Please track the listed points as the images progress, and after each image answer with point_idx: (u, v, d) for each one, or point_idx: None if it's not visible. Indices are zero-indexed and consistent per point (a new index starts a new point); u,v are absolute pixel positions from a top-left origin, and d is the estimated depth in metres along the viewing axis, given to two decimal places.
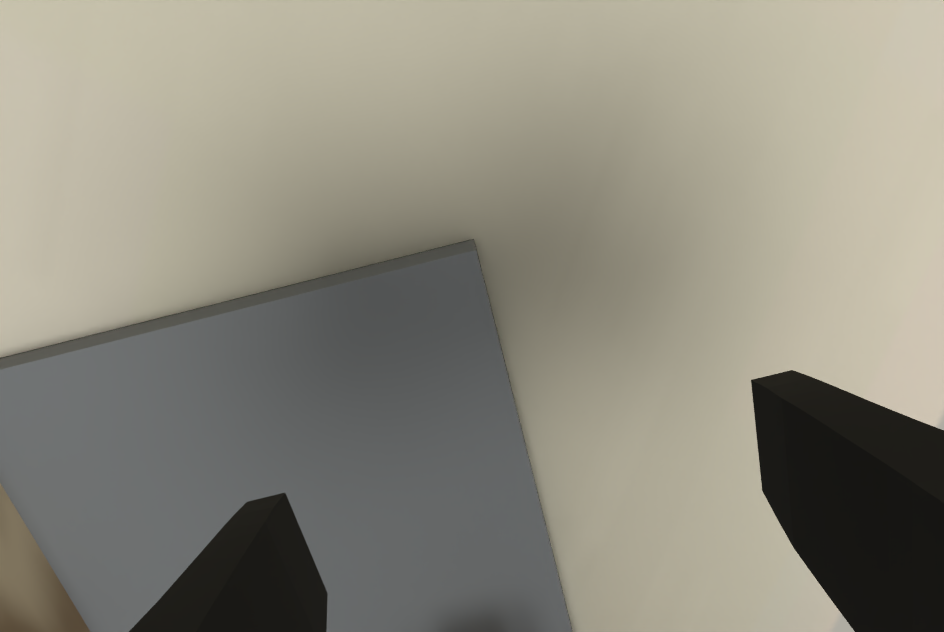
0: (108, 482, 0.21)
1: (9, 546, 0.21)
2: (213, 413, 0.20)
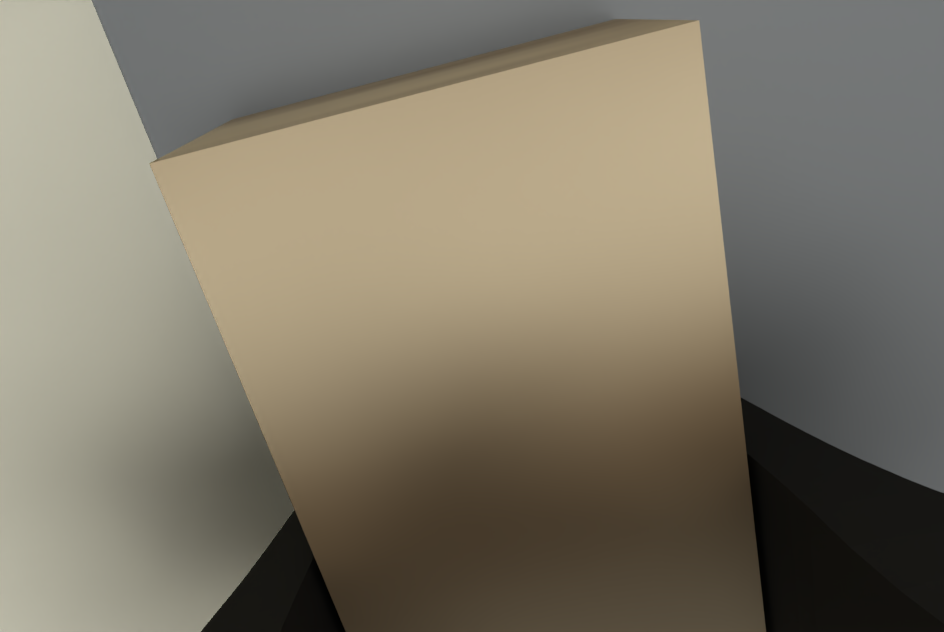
0: (849, 93, 0.10)
1: None
2: None
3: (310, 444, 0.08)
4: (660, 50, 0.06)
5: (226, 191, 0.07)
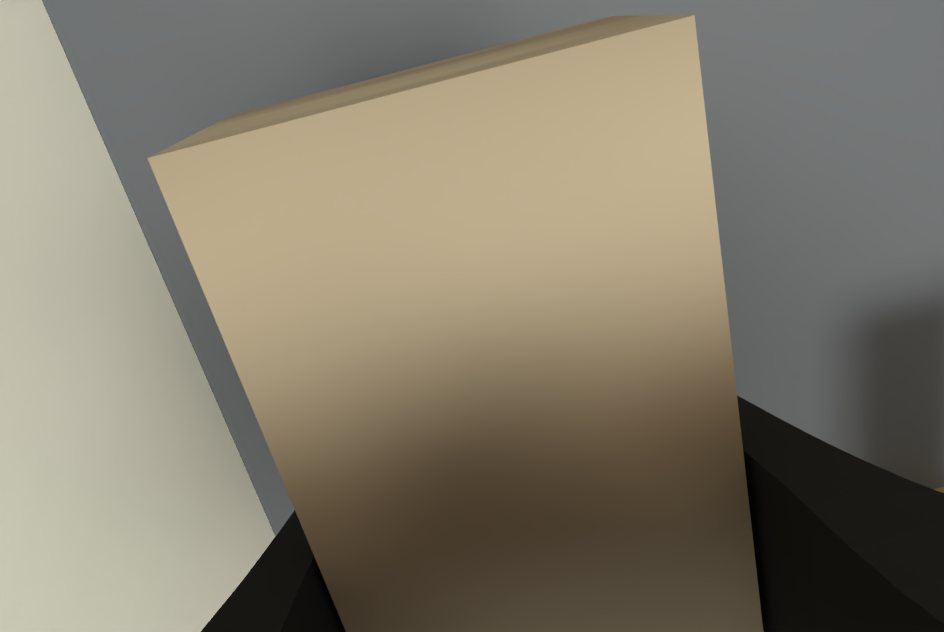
0: None
1: None
2: None
3: (308, 438, 0.08)
4: (656, 45, 0.06)
5: (224, 185, 0.07)
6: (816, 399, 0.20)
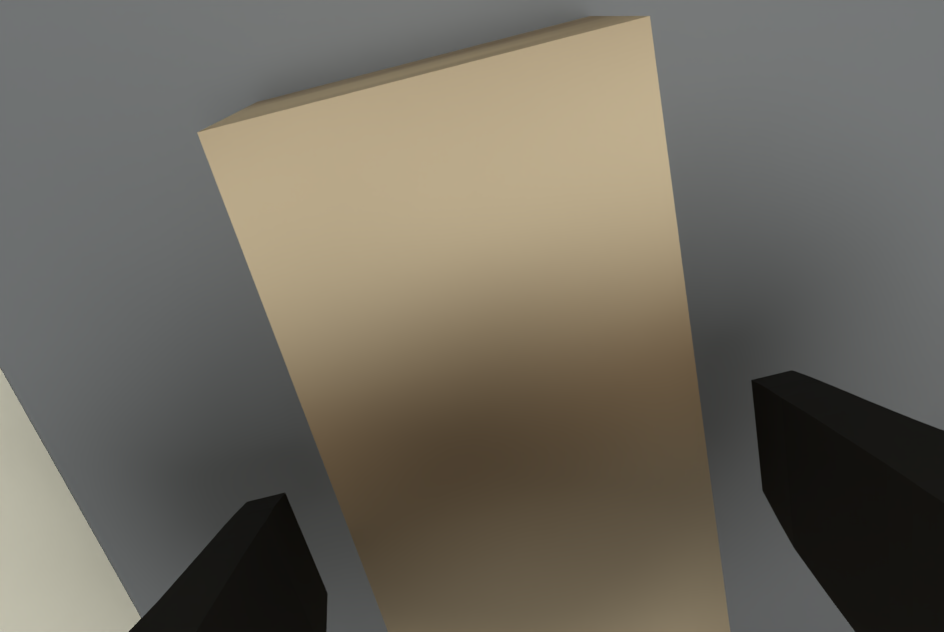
0: None
1: None
2: None
3: (326, 375, 0.09)
4: (618, 40, 0.08)
5: (260, 156, 0.08)
6: None
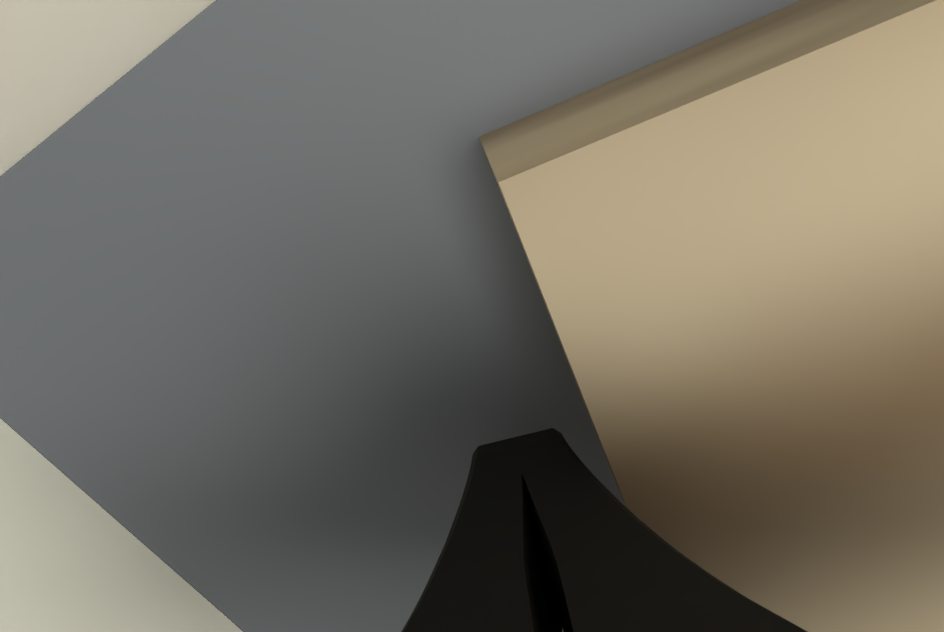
0: None
1: None
2: None
3: (629, 413, 0.09)
4: None
5: (563, 197, 0.07)
6: None
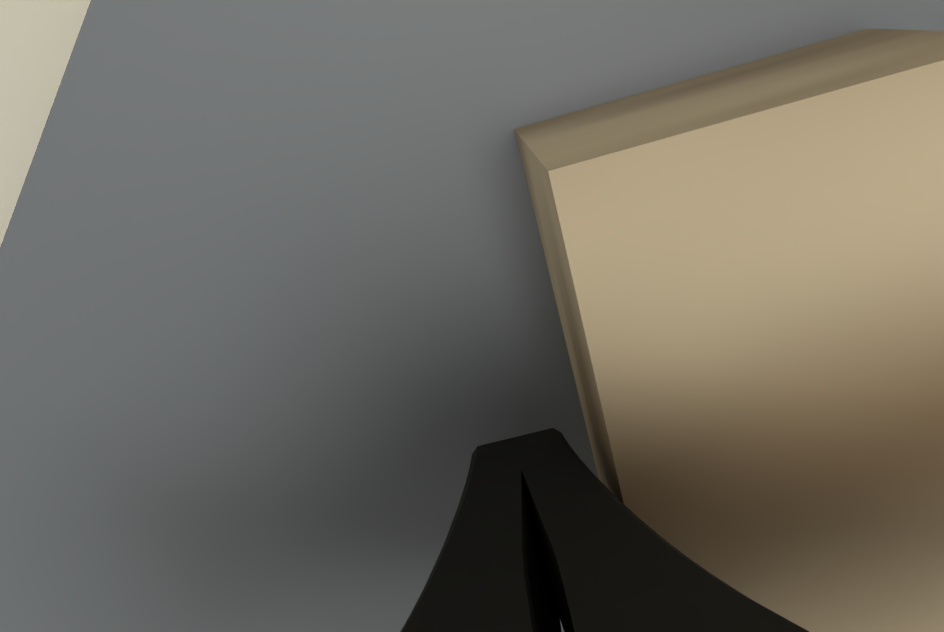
0: (254, 397, 0.12)
1: None
2: (274, 150, 0.10)
3: (642, 418, 0.09)
4: None
5: (609, 193, 0.07)
6: None
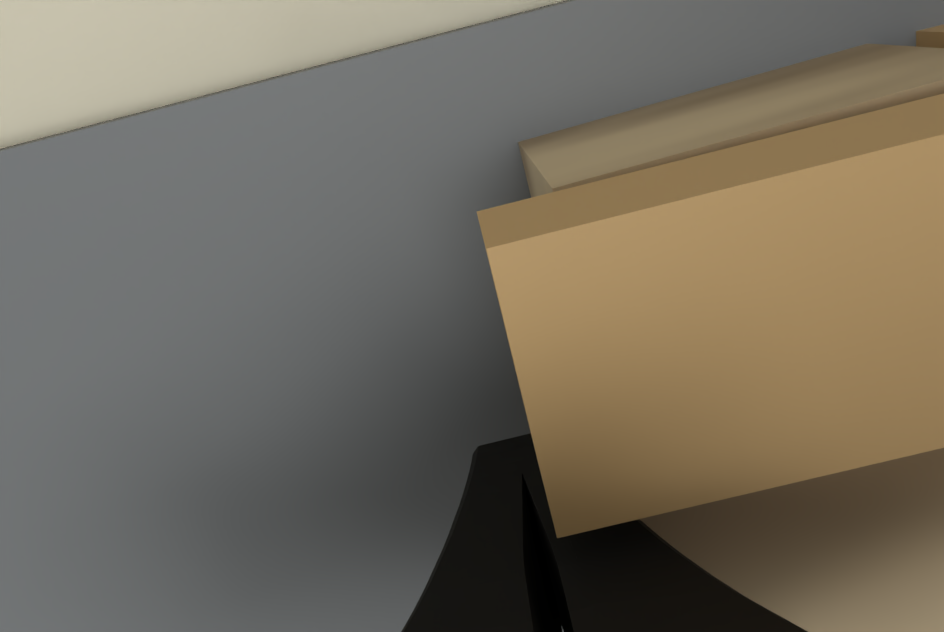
0: None
1: None
2: None
3: None
4: None
5: None
6: None
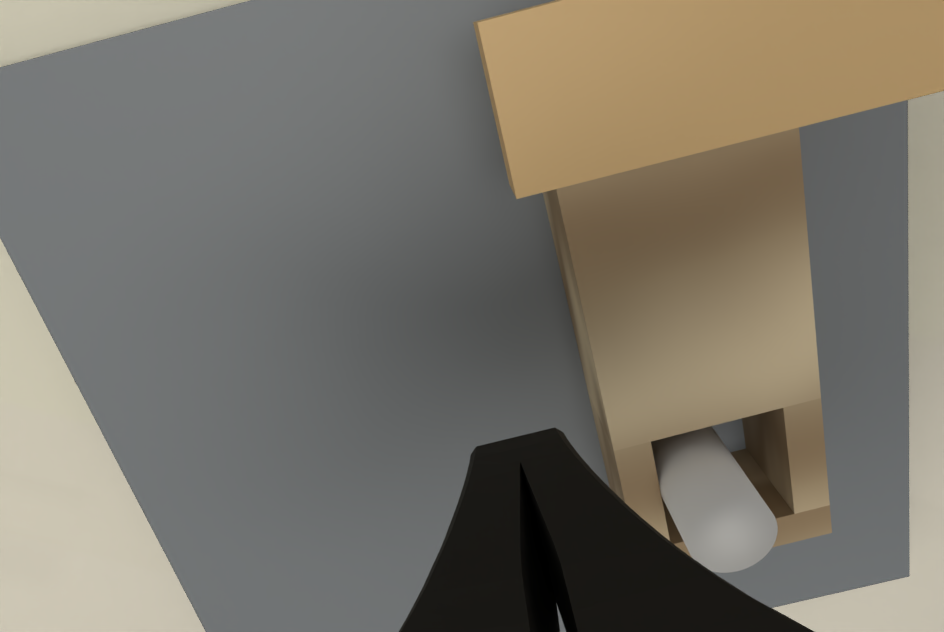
0: (283, 480, 0.20)
1: None
2: (187, 379, 0.19)
3: None
4: None
5: None
6: None
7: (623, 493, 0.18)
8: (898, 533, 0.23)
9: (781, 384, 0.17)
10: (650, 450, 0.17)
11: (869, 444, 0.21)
